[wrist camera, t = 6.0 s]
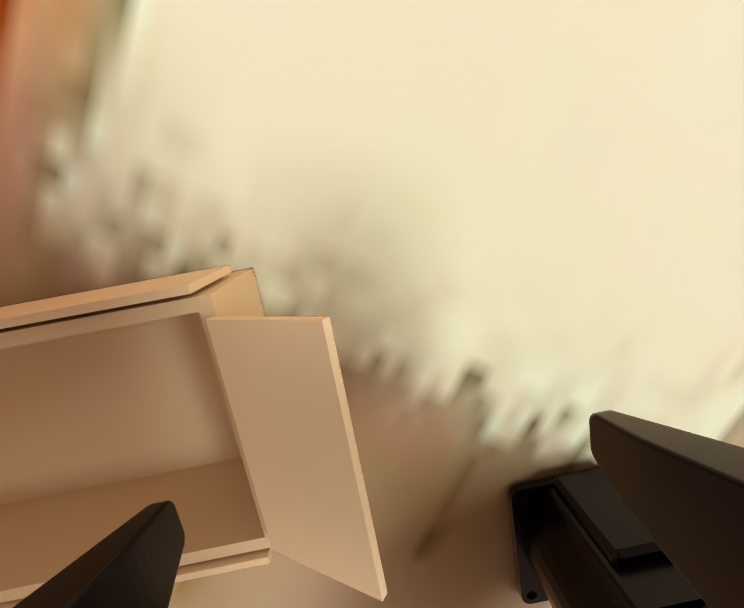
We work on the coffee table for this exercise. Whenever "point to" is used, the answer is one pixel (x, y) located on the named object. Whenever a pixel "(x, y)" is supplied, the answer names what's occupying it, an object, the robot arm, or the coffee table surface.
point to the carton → (122, 426)
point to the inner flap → (300, 443)
